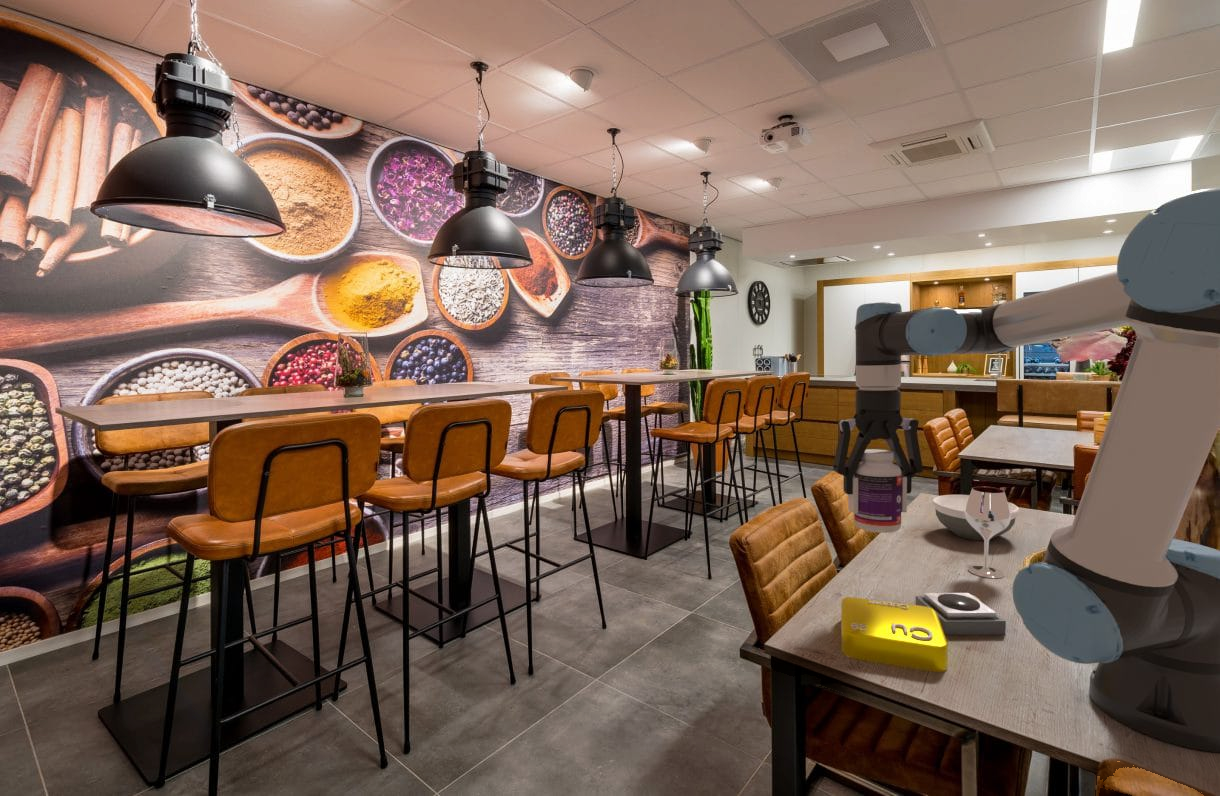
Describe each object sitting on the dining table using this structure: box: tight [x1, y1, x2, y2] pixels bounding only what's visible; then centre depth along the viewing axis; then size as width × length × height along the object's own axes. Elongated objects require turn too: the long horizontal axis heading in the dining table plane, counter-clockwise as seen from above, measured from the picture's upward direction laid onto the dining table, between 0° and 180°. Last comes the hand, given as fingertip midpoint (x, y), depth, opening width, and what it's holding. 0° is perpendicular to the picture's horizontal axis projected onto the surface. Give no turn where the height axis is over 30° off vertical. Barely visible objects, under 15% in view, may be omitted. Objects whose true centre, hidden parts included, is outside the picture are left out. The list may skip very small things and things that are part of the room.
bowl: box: [932, 494, 1020, 541], centre depth 147 cm, size 19×19×8 cm
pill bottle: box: [853, 448, 902, 534], centre depth 106 cm, size 8×8×14 cm
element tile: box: [840, 596, 949, 673], centre depth 95 cm, size 15×15×5 cm
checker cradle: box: [915, 594, 1007, 636], centre depth 101 cm, size 10×10×3 cm
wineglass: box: [965, 486, 1011, 579], centre depth 122 cm, size 8×8×18 cm
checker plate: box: [923, 592, 997, 620], centre depth 101 cm, size 8×8×2 cm
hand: (877, 510), depth 106 cm, fingers closed on pill bottle, 8 cm apart
